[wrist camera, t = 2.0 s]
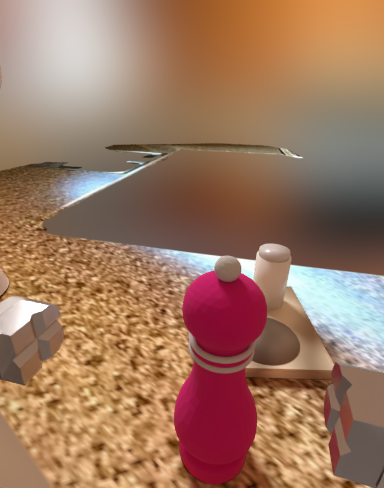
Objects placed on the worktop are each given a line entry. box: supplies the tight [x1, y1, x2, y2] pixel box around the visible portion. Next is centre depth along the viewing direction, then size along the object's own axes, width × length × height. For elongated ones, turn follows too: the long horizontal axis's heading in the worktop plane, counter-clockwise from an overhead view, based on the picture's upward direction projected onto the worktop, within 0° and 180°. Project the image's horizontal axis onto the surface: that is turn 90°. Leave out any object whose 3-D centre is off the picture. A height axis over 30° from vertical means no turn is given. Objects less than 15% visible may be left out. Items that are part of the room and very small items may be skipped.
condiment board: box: [245, 287, 334, 380], centre depth 42 cm, size 16×18×2 cm
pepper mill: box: [174, 256, 267, 484], centre depth 23 cm, size 7×7×20 cm
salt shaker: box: [253, 244, 291, 310], centre depth 45 cm, size 5×5×9 cm
